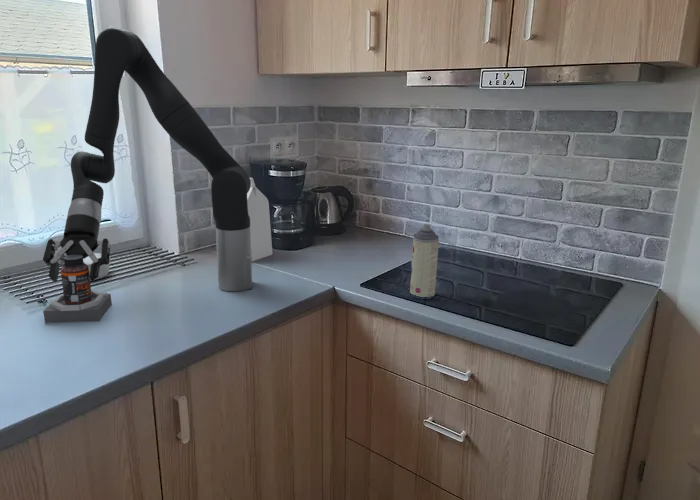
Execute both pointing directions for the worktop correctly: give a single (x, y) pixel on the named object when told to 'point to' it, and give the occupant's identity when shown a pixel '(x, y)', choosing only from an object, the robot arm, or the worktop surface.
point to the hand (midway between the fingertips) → (73, 279)
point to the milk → (259, 223)
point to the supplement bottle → (75, 280)
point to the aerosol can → (424, 262)
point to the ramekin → (103, 268)
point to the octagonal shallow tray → (78, 309)
